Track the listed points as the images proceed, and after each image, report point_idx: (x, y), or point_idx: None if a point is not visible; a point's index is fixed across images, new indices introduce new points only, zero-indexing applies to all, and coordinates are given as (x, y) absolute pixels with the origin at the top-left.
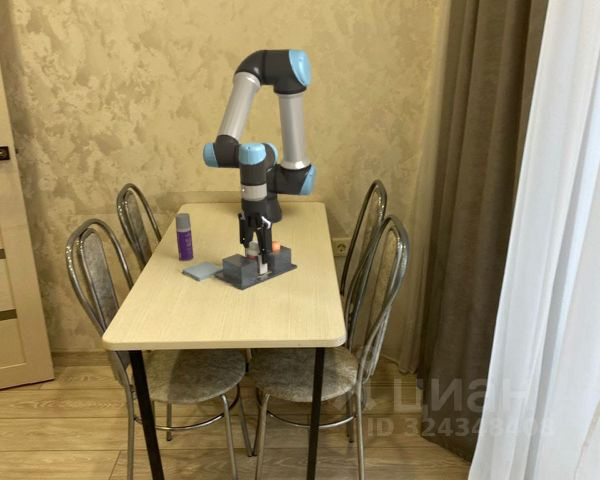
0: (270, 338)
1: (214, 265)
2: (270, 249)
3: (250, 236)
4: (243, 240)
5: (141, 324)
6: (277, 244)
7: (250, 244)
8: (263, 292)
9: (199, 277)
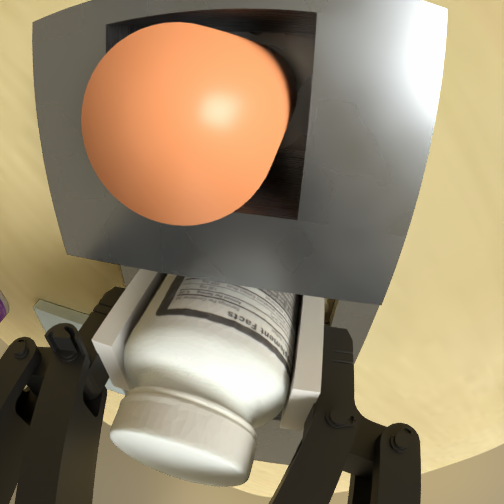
0: (498, 445)
1: (76, 325)
2: (402, 465)
3: (77, 470)
4: (38, 391)
5: (260, 485)
6: (255, 136)
7: (182, 478)
8: (419, 376)
9: None
